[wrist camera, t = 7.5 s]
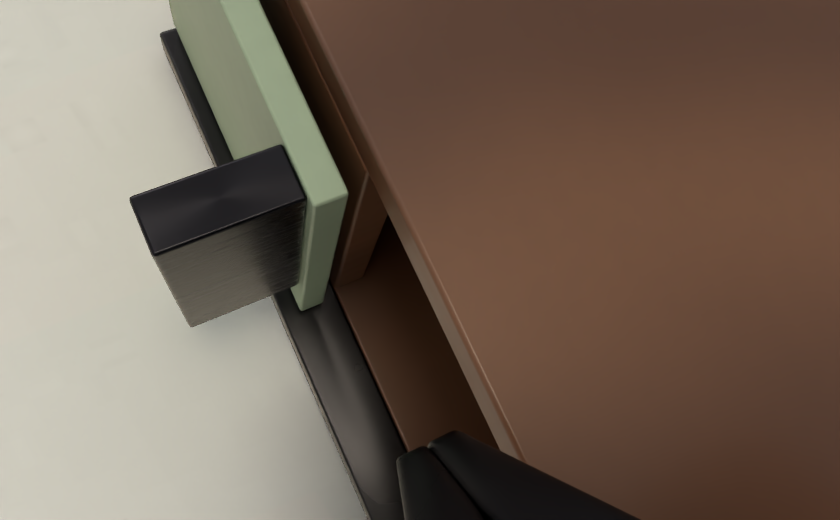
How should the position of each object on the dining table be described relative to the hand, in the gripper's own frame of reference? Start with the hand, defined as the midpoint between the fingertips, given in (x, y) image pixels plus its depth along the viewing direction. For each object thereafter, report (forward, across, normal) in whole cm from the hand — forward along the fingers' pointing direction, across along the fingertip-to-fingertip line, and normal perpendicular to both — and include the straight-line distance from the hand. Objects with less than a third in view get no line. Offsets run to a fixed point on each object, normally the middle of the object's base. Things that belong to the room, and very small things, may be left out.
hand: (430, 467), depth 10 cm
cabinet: (+10, -6, +4) cm, 12 cm away
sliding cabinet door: (+12, +1, 0) cm, 12 cm away
